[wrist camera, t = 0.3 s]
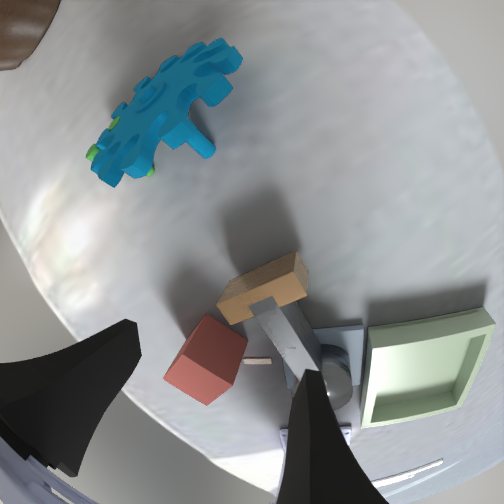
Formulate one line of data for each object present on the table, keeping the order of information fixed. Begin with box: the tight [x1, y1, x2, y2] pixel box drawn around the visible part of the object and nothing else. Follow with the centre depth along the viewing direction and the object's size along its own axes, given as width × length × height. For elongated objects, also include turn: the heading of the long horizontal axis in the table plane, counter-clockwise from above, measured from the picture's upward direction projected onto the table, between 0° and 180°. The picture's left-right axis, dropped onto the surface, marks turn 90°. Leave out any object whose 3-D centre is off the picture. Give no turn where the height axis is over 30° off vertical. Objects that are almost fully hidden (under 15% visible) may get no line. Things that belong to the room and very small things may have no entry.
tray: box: [360, 307, 496, 428], centre depth 18 cm, size 11×11×2 cm
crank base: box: [243, 324, 364, 389], centre depth 21 cm, size 6×10×1 cm, turn 101°
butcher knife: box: [371, 459, 442, 488], centre depth 29 cm, size 5×15×1 cm, turn 121°
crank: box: [216, 250, 353, 410], centre depth 18 cm, size 12×5×3 cm, turn 31°
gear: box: [86, 38, 243, 188], centre depth 14 cm, size 11×6×10 cm
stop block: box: [163, 313, 248, 406], centre depth 20 cm, size 4×4×5 cm
